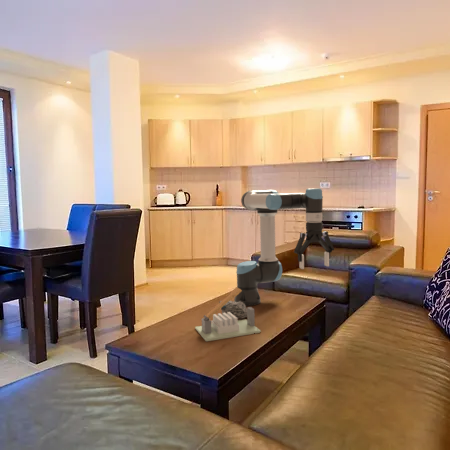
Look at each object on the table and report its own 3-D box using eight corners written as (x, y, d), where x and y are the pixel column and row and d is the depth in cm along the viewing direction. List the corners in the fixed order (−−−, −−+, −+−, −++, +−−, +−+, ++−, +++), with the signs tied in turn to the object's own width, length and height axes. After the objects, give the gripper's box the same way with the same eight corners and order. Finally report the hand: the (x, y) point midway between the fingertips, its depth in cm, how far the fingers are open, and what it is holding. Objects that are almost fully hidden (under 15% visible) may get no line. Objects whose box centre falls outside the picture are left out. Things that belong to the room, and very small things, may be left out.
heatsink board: (195, 328, 183) (194, 310, 182) (245, 321, 192) (245, 303, 191) (206, 341, 167) (205, 321, 166) (260, 332, 176) (260, 313, 175)
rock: (215, 316, 199) (217, 298, 197) (223, 311, 206) (225, 293, 204) (242, 326, 192) (244, 307, 190) (249, 320, 199) (252, 302, 197)
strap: (207, 321, 173) (206, 319, 172) (204, 317, 177) (202, 316, 177) (241, 291, 178) (240, 289, 177) (237, 288, 182) (236, 286, 182)
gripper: (294, 223, 171) (295, 271, 173) (341, 221, 180) (341, 266, 181) (286, 222, 178) (286, 268, 180) (332, 220, 187) (332, 263, 188)
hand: (314, 267), depth 181 cm, fingers open, 13 cm apart
